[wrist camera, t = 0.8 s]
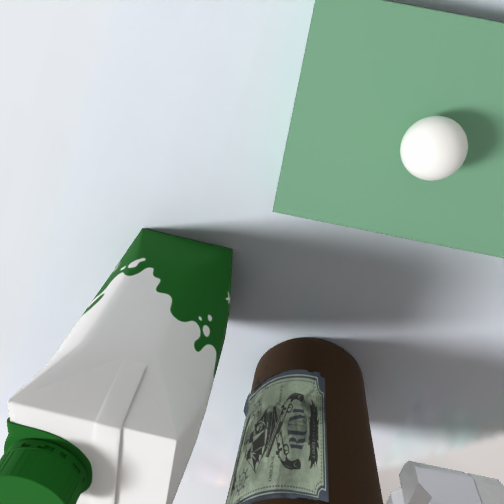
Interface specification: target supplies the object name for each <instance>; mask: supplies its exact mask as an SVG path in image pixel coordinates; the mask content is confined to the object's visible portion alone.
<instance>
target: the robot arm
mask: <svg viewBox="0 0 504 504" xmlns="http://www.w3.org/2000/svg"><path fill="white" fill-rule="evenodd" d="M399 478H400V483H401V488H399V489H397V490H395V491H393V492H391V494H390V496H389V499H388V501H387V504H504V486H503V484H501V482H500V481H499V480H498V479H494V478H489V477H484V476H479V475H474V474H469V473H464V472H461V471H456V470H451V469H446V468H441V467H437V466H432V465H427V464H422V463H417V462H412V461H408V462H407V463H406V464H405V465H404V466H403V468H402V470H401V472H400V474H399Z"/></svg>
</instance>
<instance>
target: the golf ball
mask: <svg viewBox="0 0 504 504" xmlns="http://www.w3.org/2000/svg"><path fill="white" fill-rule="evenodd" d="M467 151H468V140H467V136H466V134H465V132H464V130H463V129H462V127H461V126H460V125H459V124H458V123H457V122H455V121H454V120H452V119H450V118H448V117H444V116H429V117H425V118H423V119H421V120H419V121H417V122H415V123H414V124H413V125H412V126H411V127H410V128H409V129H408V130H407V131H406V133H405V134H404V136H403V139H402V142H401V146H400V155H401V159H402V162H403V164H404V166H405V168H406V169H407V170H408V171H409V172H410V173H411V174H412V175H414V176H415V177H417V178H420V179H423V180H428V181H435V180H441V179H444V178H446V177H448V176H450V175H452V174H453V173H455V172H456V171H457V170H458V169H459V168H460V167H461V165H462V164H463V162H464V160H465V158H466V155H467Z"/></svg>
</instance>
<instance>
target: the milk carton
mask: <svg viewBox="0 0 504 504" xmlns="http://www.w3.org/2000/svg"><path fill="white" fill-rule="evenodd" d="M231 269H232V249H230V248H226V247H221V246H217V245H213V244H208V243H204V242H200V241H195V240H191V239H187V238H182V237H178V236H174V235H169V234H165V233H161V232H156V231H152V230H148V229H142V230H141V231H140V233H139V234H138V236H137V237H136V239H135V240H134V242H133V243H132V244H131V246H130V247H129V249H128V250H127V252H126V253H125V255H124V256H123V258H122V259H121V260H120V262H119V263H118V265H117V266H116V268H115V269H114V271H113V272H112V274H111V275H110V277H109V278H108V280H107V281H106V282H105V284H104V285H103V287H102V288H101V290H100V291H99V292H98V294H97V295H96V297H95V298H94V299H93V301H92V302H91V304H90V305H89V307H88V308H87V309H86V311H85V312H84V314H83V315H82V316H81V318H80V319H79V321H78V322H77V324H76V325H75V326H74V328H73V329H72V331H71V332H70V333H69V335H68V336H67V338H66V339H65V341H64V342H63V343H62V345H61V346H60V348H59V349H58V350H57V352H56V353H55V355H54V356H53V357H52V359H51V360H50V361H49V362H48V363H47V365H46V366H45V367H43V368H42V369H41V370H40V371H39V372H38V373H37V374H36V375H35V376H34V377H33V378H32V379H30V380H29V381H28V382H27V383H26V384H25V385H24V386H23V387H22V388H21V389H20V390H18V391H17V392H16V393H15V394H14V395H13V396H12V397H11V398H10V399H9V400H8V411H9V416H10V417H9V418H8V419H7V427H8V432H9V434H8V437H7V439H6V441H5V446H4V455H3V456H2V458H1V459H0V504H172V502H173V500H174V498H175V495H176V492H177V490H178V487H179V485H180V482H181V479H182V477H183V474H184V472H185V469H186V467H187V464H188V461H189V459H190V456H191V454H192V451H193V448H194V446H195V443H196V440H197V437H198V434H199V430H200V427H201V424H202V421H203V418H204V415H205V411H206V408H207V404H208V400H209V396H210V393H211V389H212V385H213V381H214V378H215V374H216V370H217V366H218V363H219V359H220V355H221V351H222V347H223V344H224V340H225V334H226V328H227V322H228V316H229V310H230V295H231Z"/></svg>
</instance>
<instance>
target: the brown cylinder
mask: <svg viewBox="0 0 504 504" xmlns="http://www.w3.org/2000/svg"><path fill="white" fill-rule="evenodd" d="M249 394H250V393H249ZM244 413H245V416H246V419H245V423H244V428H243V432H242V437H241V441H240V445H239V450H238V454H237V458H236V463H235V467H234V471H233V475H232V480H231V484H230V488H229V492H228V496H227V500H226V504H383V500H382V495H381V489H380V484H379V477H378V472H377V466H376V460H375V454H374V448H373V442H372V436H371V430H370V424H369V417H368V411H367V404H366V397H365V390H364V383H363V377H362V373H361V370H360V368H359V365H358V364H357V362H356V361H355V359H354V358H353V357H352V356H351V355H350V354H349V353H348V352H346V351H345V350H344V349H342V348H340V347H339V346H337V345H335V344H332V343H329V342H326V341H323V340H318V339H308V338H303V339H294V340H289V341H285V342H283V343H280V344H278V345H276V346H274V347H272V348H271V349H270V350H268V351H267V352H266V353H265V354H264V355H263V356H262V358H261V359H260V361H259V363H258V365H257V368H256V371H255V375H254V380H253V385H252V390H251V394H250V396H249V395H248V397H247V400H246V403H245V407H244Z"/></svg>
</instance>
